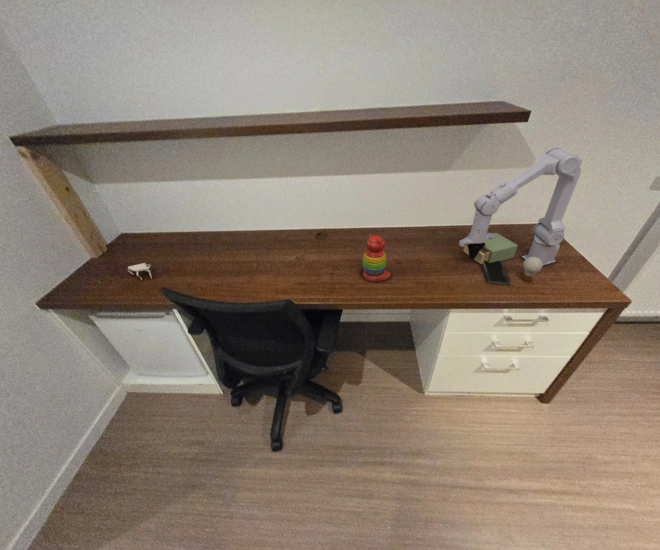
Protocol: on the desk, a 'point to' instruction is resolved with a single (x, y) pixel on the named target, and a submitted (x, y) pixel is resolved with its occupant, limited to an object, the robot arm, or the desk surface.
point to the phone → (495, 272)
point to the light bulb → (531, 267)
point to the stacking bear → (375, 260)
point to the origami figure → (139, 268)
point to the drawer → (479, 254)
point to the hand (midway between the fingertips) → (471, 257)
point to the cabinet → (500, 248)
